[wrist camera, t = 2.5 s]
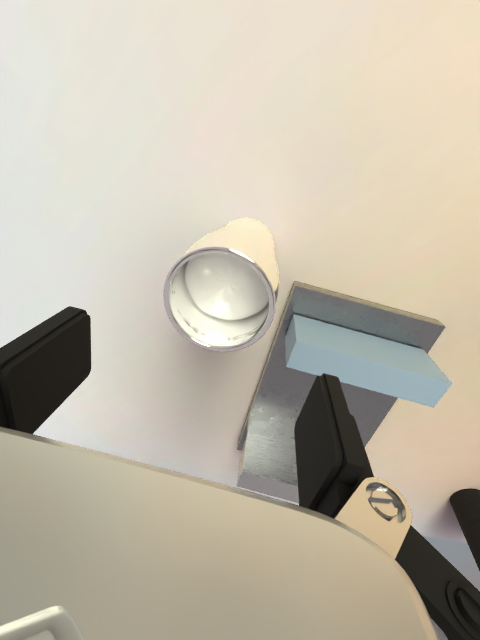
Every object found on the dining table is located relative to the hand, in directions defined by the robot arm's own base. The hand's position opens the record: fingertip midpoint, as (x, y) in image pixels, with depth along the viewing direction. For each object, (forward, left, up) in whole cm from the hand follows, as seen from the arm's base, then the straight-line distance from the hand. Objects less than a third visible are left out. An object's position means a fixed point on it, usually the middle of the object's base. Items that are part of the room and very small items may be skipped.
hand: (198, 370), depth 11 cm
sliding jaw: (+6, +14, -19) cm, 24 cm away
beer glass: (0, 0, -21) cm, 21 cm away
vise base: (+15, +14, -21) cm, 29 cm away
